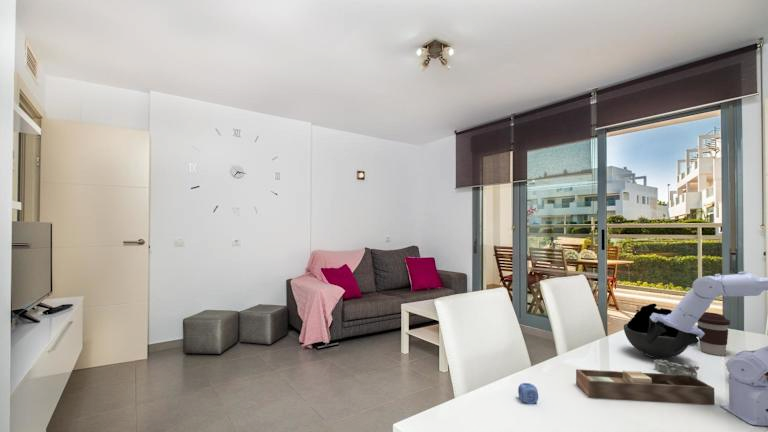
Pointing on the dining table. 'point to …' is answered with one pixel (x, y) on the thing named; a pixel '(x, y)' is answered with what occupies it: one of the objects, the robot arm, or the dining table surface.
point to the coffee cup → (713, 333)
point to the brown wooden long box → (645, 387)
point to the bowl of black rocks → (639, 329)
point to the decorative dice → (528, 393)
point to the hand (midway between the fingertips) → (660, 345)
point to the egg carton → (675, 368)
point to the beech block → (636, 377)
